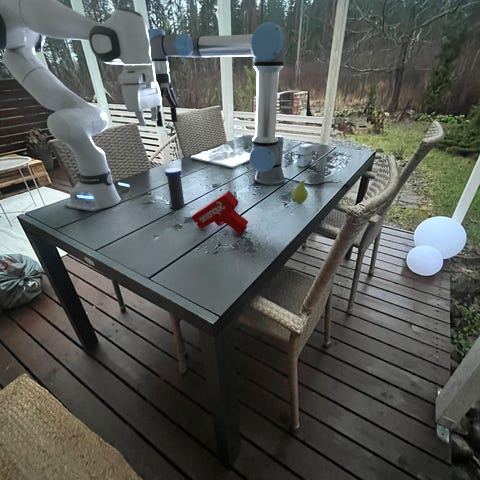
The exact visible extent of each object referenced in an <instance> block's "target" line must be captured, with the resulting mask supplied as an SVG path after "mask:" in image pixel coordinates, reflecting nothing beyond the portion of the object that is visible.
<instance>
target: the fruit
mask: <svg viewBox="0 0 480 480" xmlns="http://www.w3.org/2000/svg"><path fill="white" fill-rule="evenodd" d="M310 177H311V175H310V174H309V175H308V176H307V177H305V179H302V180H301V181H299V182H300V183H298V184H297V185H296V186H295V187H294V188H293V190H292V191H291V198H292V200H293V201H294V202H295V203H297V204H301V203H304V202H305V201H306V200H307V198H308V196H309V195H308V190H307V189H306V185H305V183H306V180H308V179H309V178H310Z"/></svg>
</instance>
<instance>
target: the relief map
mask: <svg viewBox="0 0 480 480" xmlns="http://www.w3.org/2000/svg"><path fill="white" fill-rule="evenodd" d="M249 156H250V152H248V151H246V150H245V149H244V148H243V147H240V148H237V149H234V148H232V147H231V146H230V145H229V144H224V143H223V144H222V145H220V146H218V147H215V148H212V149H209V150H205V151H201V152H200V153H198V154H194V155H191V156H190V158H191V159H192V160H197V161H201V162H205V163H209V164H210V163H211V164H214V165H218V166H221V167H222V166H223V167H228V168H231V169H233V168H234V169H235V168H236V167H238V166H241V165H242V164H246V163H248V162H250V160H249Z"/></svg>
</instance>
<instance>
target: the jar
mask: <svg viewBox="0 0 480 480" xmlns="http://www.w3.org/2000/svg"><path fill="white" fill-rule="evenodd" d="M166 178H167V179H166V180H167V186H168V193H169V198H170V204H171V205H170V206H171V208H172V209H174V210H180V209H183V208H184V207H185V197H184V190H183V182H182V174H181V175H180V176H178V177H167V176H166Z"/></svg>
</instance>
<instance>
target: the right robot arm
mask: <svg viewBox="0 0 480 480" xmlns="http://www.w3.org/2000/svg"><path fill="white" fill-rule="evenodd" d="M147 30H148V35H149V41H150V47H151V49H150V55H151V59H152V62H153V64H151V65H153V66H154V72H155V79H156V82H157V83H158V86H159V90H160V95H161V100H162V101H163V99H164V98H166V100H167V102H168V103H169V106H170V109H169V110H170V116H171V117H170V118H171V122H172V123H173V122H174V123H178V122H179V121H178V114H177V108H178V107H179V102H178V99H177V97H176V94H175V91H174V87H173V84H170V83H171V75H170V73H169V72H170V68H169V60H168V57H175V58H176V57H177V58H178V57H179V58H180V57H182V58H211V57H212V58H218V57H219V58H220V57H221V58H222V57H224V58H225V57H226V58H227V57H229V58H230V57H253V68H254V69H255V71H256V107H255V108H256V110H255V135H254V136H253V137H252V139H251V151H250V152H249V154H250V156H249V160H250V161H249V163H250V166H251V167H252V168H253V169H254V170H256V173H254V176H255V177H254V181H255V183H258V184H259V185H262V186H263V185H264V186H279V185H281V184H283V183H284V181H285V180H287V181H291V182H293V183H298V184H299V183H300V182H301V181H299V180H295V179H292V178H288V177H285V175H284V172H283V171H284V170H283V167H282V165H283V154H284V153H283V152H284V137H283V135H280V134H279V135H278V134H276V129H277V128H276V127H277V113H278V112H277V111H278V95H279V80H280V79H279V77H280V71H281V70H282V69H283V68H284V61H285V60H284V59H285V56H286V54H287V52H288V49H289V47H290V46H289V45H290V39H289V35H288V33H287V31H286V30H285V29H284V28H283V27H281V26H280V25H278V24H277V23H276V22H271V21H268V22H267V21H266V22H262V23H261V24H259V25H258V26H257V27H256V28H255V29H254V30H253V32H252V34H231V35H230V34H228V35H208V36H190V35H189V34H188V33H178V34H165V30H164V29H162V28H147ZM161 106H162V104H161V105H159V106H157V109H158V110H157V119H158V120H157V121H155V122H156V127H158V128H163V127H164V123H163V116H162V111H161ZM333 181H334V180H328V181H323V182H319V183H308V182H307V183H306V182H305V186H320V185H324V184H333V183H334V184H336V183H337V184H338V182H333ZM338 181H339V182H342V181H340V180H338ZM344 186H346V187H349V185H348V184H347V183H346V184H344Z"/></svg>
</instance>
